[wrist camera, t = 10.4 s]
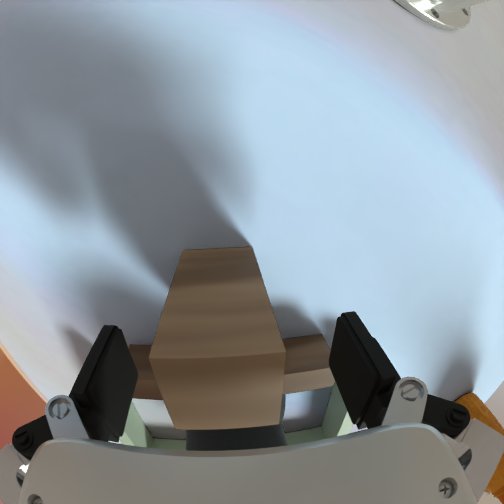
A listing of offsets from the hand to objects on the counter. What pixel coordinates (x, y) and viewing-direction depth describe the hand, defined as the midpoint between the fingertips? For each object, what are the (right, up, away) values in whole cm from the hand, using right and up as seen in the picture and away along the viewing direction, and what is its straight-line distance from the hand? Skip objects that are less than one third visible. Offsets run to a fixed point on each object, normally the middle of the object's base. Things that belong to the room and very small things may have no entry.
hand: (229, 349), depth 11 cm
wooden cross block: (-1, 0, +6) cm, 6 cm away
